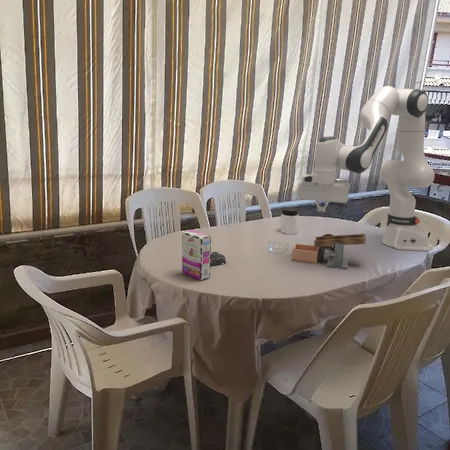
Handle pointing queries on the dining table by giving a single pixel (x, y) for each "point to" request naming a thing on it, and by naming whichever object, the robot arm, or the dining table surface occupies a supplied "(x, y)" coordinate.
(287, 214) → the jar
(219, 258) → the tank toy
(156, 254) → the dining table surface
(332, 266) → the stand
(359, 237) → the brown wooden tray
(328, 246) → the pottery mug
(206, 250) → the candy bar box
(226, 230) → the dining table surface
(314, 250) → the pink open box
